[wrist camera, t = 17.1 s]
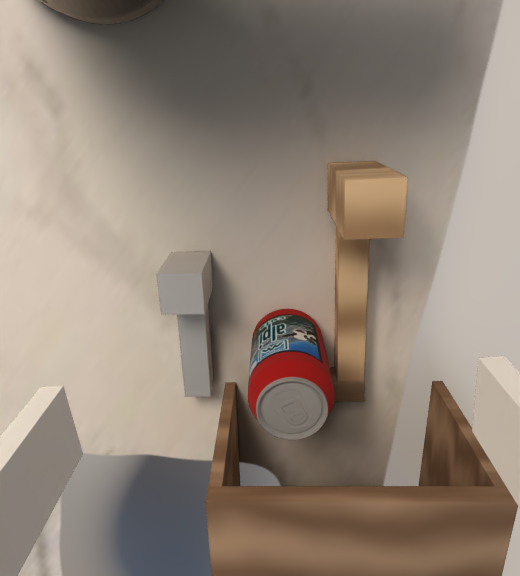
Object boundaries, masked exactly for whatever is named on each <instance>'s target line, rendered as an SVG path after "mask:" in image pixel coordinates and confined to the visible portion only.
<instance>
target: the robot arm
mask: <svg viewBox="0 0 520 576" xmlns="http://www.w3.org/2000/svg"><path fill="white" fill-rule="evenodd" d="M39 1H41V2H42V3H44V4H45V5H47V6H49V7H51V8H53V9H55V10H57V11H59V12H61V13H63V14H65V15H68V16H70V17H72V18H75V19H78V20H81V21H85V22H90V23H96V24H116V23H122V22H126V21H130V20H133V19H136V18H138V17H140V16H142V15H144V14H146V13H148V12H150V11H151V10H153V9H154V8H155V7H157V6H158V5H159V4H160V3H162V2H163V1H164V0H39ZM472 432H473V433H474V435H475V437H476V438H477V440H478V441H479V443H480V445H481V446H482V448H483V450H484V451H485V453H486V454H487V456H488V458H489V459H490V461H491V463H492V464H493V466H494V467H495V469H496V471H497V472H498V474H499V476H500V477H501V479H502V480H503V482H504V484H505V485H506V487H507V489H508V490H509V492H510V493H511V495H512V497H513V498H514V500H515V502H516V503H517V505H518V506H519V508H520V373H519V372H518V370H517V369H516V368H515V367H514V366H513V365H512V364H511V363H510V362H509V361H508V360H507V359H506V358H505V356H498V357H482V358H479V359H478V370H477V381H476V392H475V403H474V413H473V424H472ZM82 455H83V452H82V449H81V445H80V442H79V438H78V435H77V431H76V428H75V424H74V421H73V417H72V414H71V411H70V407H69V404H68V400H67V397H66V393H65V390H64V386H54V387H40V388H39V390H38V391H37V392H36V393H35V395H34V396H33V397H32V398H31V399H30V401H29V402H28V403H27V404H26V406H25V407H24V408H23V409H22V410H21V412H20V413H19V414H18V415H17V417H16V418H15V419H14V420H13V422H12V423H11V424H10V425H9V426H8V428H7V429H6V430H5V431H4V433H3V434H2V435H1V436H0V576H18V574H19V572H20V570H21V568H22V567H23V565H24V563H25V561H26V559H27V557H28V555H29V554H30V552H31V550H32V548H33V546H34V544H35V542H36V540H37V539H38V537H39V535H40V533H41V531H42V529H43V527H44V526H45V524H46V522H47V520H48V518H49V516H50V514H51V513H52V511H53V509H54V507H55V505H56V503H57V501H58V500H59V498H60V496H61V494H62V492H63V490H64V488H65V486H66V485H67V483H68V481H69V479H70V477H71V475H72V473H73V472H74V470H75V468H76V466H77V464H78V462H79V460H80V459H81V457H82Z"/></svg>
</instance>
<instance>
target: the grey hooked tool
mask: <svg viewBox="0 0 520 576" xmlns="http://www.w3.org/2000/svg"><path fill="white" fill-rule="evenodd" d="M157 282H158V291H159V300H160V310H161V315H176V314H177V317H178V327H179V338H180V348H181V359H182V369H183V380H184V390H185V397H200V396H211V392H212V387H213V367H212V353H211V338H210V323H209V308H208V302H209V298H210V295H211V292H212V289H213V281H212V265H211V251H197V252H171V253H170V255H169V256H168V258H167V259H166V261H165V262H164V264H163V265H162V267H161V268H160V269H159V271H158V272H157Z"/></svg>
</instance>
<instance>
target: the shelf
mask: <svg viewBox="0 0 520 576" xmlns="http://www.w3.org/2000/svg"><path fill="white" fill-rule="evenodd" d="M517 508H518V505H517V503H516V502H515V500H514V498H513V497H512V495H511V493H510V492H509V490H508V489H507V487H506V485H505V484H504V482H503V480H502V479H501V477H500V476H499V474H498V472H497V471H496V469H495V467H494V466H493V464H492V463H491V461H490V459H489V458H488V456H487V454H486V453H485V451H484V450H483V448H482V446H481V445H480V443H479V441H478V440H477V438H476V437H475V435H474V433H473V432H472V427H471V426H470V424H469V423H468V421H467V420H466V418H465V417H464V415H463V413H462V411H461V410H460V408H459V407H458V405H457V404H456V402H455V400H454V399H453V397H452V396H451V394H450V393H449V391H448V389H447V388H446V386H445V384H444V383H443V381H433V382H432V389H431V396H430V404H429V411H428V419H427V427H426V435H425V442H424V449H423V457H422V465H421V473H420V480H419V486H264V487H263V486H246V487H245V486H240V472H239V450H238V429H237V408H236V387H235V382H232V383H225V389H224V395H223V401H222V407H221V413H220V419H219V425H218V431H217V438H216V444H215V450H214V456H213V462H212V468H211V474H210V480H209V486H208V493H207V498H206V511H207V523H208V534H209V545H210V546H209V547H210V559H211V571H212V576H502V572H503V568H504V563H505V559H506V555H507V551H508V546H509V542H510V538H511V534H512V529H513V525H514V521H515V517H516V512H517Z"/></svg>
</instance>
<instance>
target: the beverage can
mask: <svg viewBox="0 0 520 576" xmlns="http://www.w3.org/2000/svg"><path fill="white" fill-rule="evenodd" d="M248 403H249V407H250V409H251V411H252V413H253V415H254V416H255V418H256V419H257V420H258V421H259V423H260V424H261V426H262V427H263V428H264V429H265V430H266V431H267V432H268V433H269V434H271V435H273V436H275V437H277V438H280V439H285V440H298V439H303V438H306V437H309V436H311V435H313V434H314V433H316V432H317V431H318V430H319V429H320V428H321V427H322V426H323V424H324V423H325V421H326V418H327V417H328V415H329V414H330V412H331V410H332V407H333V404H334V388H333V383H332V378H331V374H330V369H329V364H328V360H327V356H326V351H325V347H324V343H323V339H322V335H321V331H320V329H319V327H318V325H317V323H316V322H315V321H314V320H313V319H312V318H311V317H310V316H309V315H307V314H305V313H303V312H301V311H298V310H294V309H281V310H277V311H274V312H271V313H269V314H268V315H266V316H265V317H264V318H262V319H261V320H260V322H259V323H258V324H257V326H256V328H255V330H254V333H253V338H252V348H251V358H250V371H249V385H248Z"/></svg>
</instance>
